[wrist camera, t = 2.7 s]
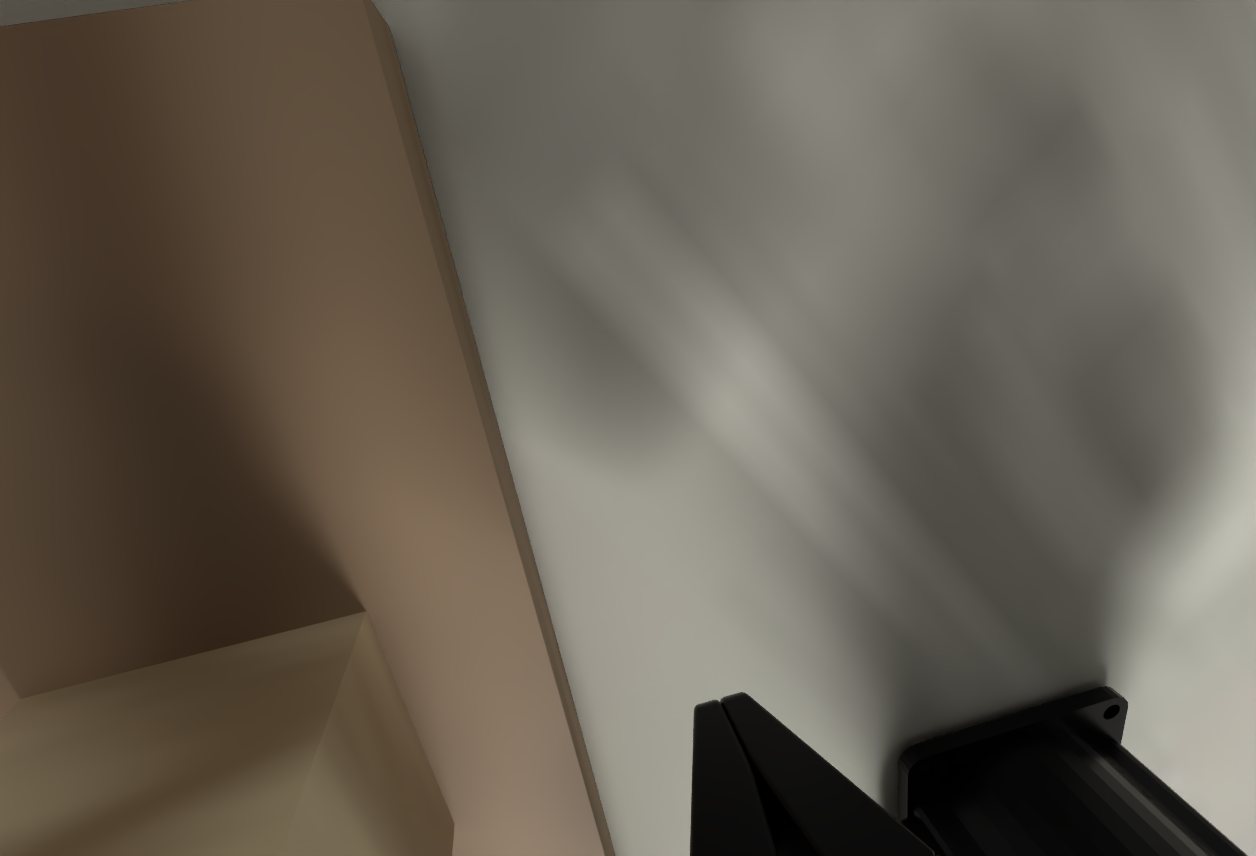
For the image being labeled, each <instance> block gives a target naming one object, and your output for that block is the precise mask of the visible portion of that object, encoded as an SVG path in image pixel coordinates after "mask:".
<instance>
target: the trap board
mask: <svg viewBox="0 0 1256 856" xmlns="http://www.w3.org/2000/svg"><path fill="white" fill-rule="evenodd" d="M365 611H366V612H367V614H368V616H369V619H370V621H371V624H372V626H373V629H374V631H375V633H376V636H377V638H378V641H379V643H380V645H381V648H382V650H383V653H384V655H385V657H386V660H387V662H388V665H389V667H390V669H391V672H392V674H393V677H394V679H395V682H396V684H397V686H398V689H399V691H400V694H401V696H402V698H403V701H404V703H405V706H406V708H407V710H408V713H409V715H410V718H411V720H412V722H413V725H414V727H415V730H416V732H417V735H418V737H419V739H420V742H421V744H422V747H423V749H424V751H425V754H426V756H427V759H428V761H429V763H430V766H431V768H432V771H433V773H434V775H435V778H436V780H437V783H438V785H439V788H440V790H441V792H442V795H443V797H444V800H445V802H446V804H447V807H448V809H449V812H450V814H451V816H452V819H453V821H454V824H455V827H454V838H453V850H452V856H615V853H614V849H613V845H612V842H611V838H610V834H609V831H608V827H607V823H606V820H605V816H604V812H603V809H602V805H601V801H600V798H599V794H598V790H597V787H596V783H595V779H594V776H593V772H592V768H591V765H590V761H589V757H588V754H587V750H586V746H585V743H584V739H583V735H582V732H581V728H580V724H579V721H578V717H577V713H576V710H575V706H574V702H573V699H572V695H571V691H570V688H569V684H568V680H567V677H566V673H565V669H564V666H563V662H562V658H561V655H560V651H559V647H558V644H557V640H556V636H555V633H554V629H553V625H552V622H551V618H550V614H549V611H548V607H547V603H546V600H545V596H544V592H543V589H542V585H541V581H540V578H539V574H538V570H537V567H536V563H535V559H534V556H533V552H532V548H531V545H530V541H529V537H528V534H527V530H526V526H525V523H524V519H523V515H522V512H521V508H520V504H519V501H518V497H517V493H516V490H515V486H514V482H513V479H512V475H511V471H510V468H509V464H508V460H507V457H506V453H505V449H504V446H503V442H502V438H501V435H500V431H499V427H498V424H497V420H496V416H495V413H494V409H493V405H492V402H491V398H490V394H489V391H488V387H487V383H486V380H485V376H484V372H483V369H482V365H481V361H480V358H479V354H478V350H477V347H476V343H475V339H474V336H473V332H472V328H471V325H470V321H469V317H468V314H467V310H466V306H465V303H464V299H463V295H462V292H461V288H460V284H459V281H458V277H457V273H456V270H455V266H454V262H453V259H452V255H451V251H450V248H449V244H448V240H447V237H446V233H445V229H444V226H443V222H442V218H441V215H440V211H439V207H438V204H437V200H436V196H435V193H434V189H433V185H432V182H431V178H430V174H429V171H428V167H427V163H426V160H425V156H424V152H423V149H422V145H421V141H420V138H419V134H418V130H417V127H416V123H415V119H414V116H413V112H412V109H411V105H410V101H409V98H408V94H407V90H406V87H405V83H404V79H403V76H402V72H401V68H400V65H399V61H398V57H397V54H396V50H395V46H394V43H393V39H392V35H391V32H390V28H389V26H388V25H387V23H386V22H385V20H384V19H383V17H382V16H381V14H380V13H379V11H378V10H377V8H376V7H375V5H374V4H373V2H372V1H371V0H191V1H183V2H176V3H169V4H161V5H154V6H147V7H140V8H132V9H125V10H118V11H110V12H103V13H96V14H88V15H81V16H74V17H66V18H59V19H52V20H45V21H37V22H30V23H23V24H15V25H8V26H1V27H0V719H1V718H2V717H3V716H4V715H5V714H6V713H7V712H8V711H9V710H10V709H11V708H12V707H13V706H14V705H15V704H16V703H17V702H18V701H19V700H20V699H22V698H26V697H30V696H34V695H38V694H42V693H46V692H50V691H54V690H58V689H62V688H66V687H70V686H73V685H77V684H81V683H85V682H89V681H93V680H97V679H101V678H105V677H109V676H113V675H117V674H121V673H125V672H129V671H133V670H136V669H140V668H144V667H148V666H152V665H156V664H160V663H164V662H168V661H172V660H176V659H180V658H184V657H188V656H192V655H196V654H199V653H203V652H207V651H211V650H215V649H219V648H223V647H227V646H231V645H235V644H239V643H243V642H247V641H251V640H255V639H259V638H262V637H266V636H270V635H274V634H278V633H282V632H286V631H290V630H294V629H298V628H302V627H306V626H310V625H314V624H318V623H322V622H325V621H329V620H333V619H337V618H341V617H345V616H349V615H353V614H357V613H361V612H365Z"/></svg>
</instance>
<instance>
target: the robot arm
mask: <svg viewBox="0 0 1256 856" xmlns="http://www.w3.org/2000/svg"><path fill="white" fill-rule="evenodd" d="M1127 709H1128V702H1127V701H1126V699H1125V698H1123V697H1122V696H1121V695H1120V694H1118V693H1117V692H1116V691H1115V690H1113V689H1112V688H1111V687H1107V686H1105V687H1099V688H1096V689H1093V690H1089V691H1086V692H1083V693H1080V694H1077V695H1073V696H1070V697H1067V698H1064V699H1060V700H1057V701H1054V702H1051V703H1048V704H1044V705H1041V706H1038V707H1035V708H1031V709H1028V710H1025V711H1022V712H1018V713H1015V714H1012V715H1009V716H1006V717H1002V718H999V719H996V720H993V721H989V722H986V723H983V724H980V725H977V726H973V727H970V728H967V729H964V730H960V731H957V732H954V733H951V734H947V735H944V736H941V737H938V738H935V739H931V740H928V741H925V742H922V743H918V744H915V745H913V746H911V747H909V748H908V749H907V750H905V751H904V752H903V753H902V755H901V756H900V758H899V762H898V821H897V820H896V819H895V818H894V817H893V816H892V815H890V814H889V813H888V812H887V811H886V810H884V809H883V808H882V807H881V806H880V805H878V804H877V803H876V802H875V801H874V800H873V799H871V798H870V797H869V796H868V795H867V794H865V793H864V792H863V791H862V790H861V789H859V788H858V787H857V786H856V785H855V784H854V783H852V782H851V781H850V780H849V779H848V778H846V777H845V776H844V775H843V774H842V773H840V772H839V771H838V770H837V769H836V768H835V767H833V766H832V765H831V764H830V763H829V762H827V761H826V760H825V759H824V758H823V757H821V756H820V755H819V754H818V753H817V752H816V751H814V750H813V749H812V748H811V747H810V746H808V745H807V744H806V743H805V742H804V741H802V740H801V739H800V738H799V737H798V736H797V735H795V734H794V733H793V732H792V731H791V730H789V729H788V728H787V727H786V726H785V725H783V724H782V723H781V722H780V721H779V720H778V719H776V718H775V717H774V716H773V715H772V714H770V713H769V712H768V711H767V710H766V709H764V708H763V707H762V706H761V705H760V704H759V703H757V702H756V701H755V700H754V699H753V698H751V697H750V696H749V695H748V694H746V693H743V692H740V693H736V694H733V695H729V696H726V697H723V698H722V699H721V700H720V702H719V701H718V700H712V701H709V702H705V703H702V704H698V705H696V706H695V708H694V728H693V764H692V800H691V837H690V856H1248V855H1246V854H1245V853H1244V852H1243V851H1242V850H1241V849H1240V848H1238V847H1237V846H1236V845H1235V844H1234V843H1233V842H1232V841H1230V840H1229V839H1228V838H1227V837H1226V836H1225V835H1224V834H1222V833H1221V832H1220V831H1219V830H1218V829H1217V828H1216V827H1214V826H1213V825H1212V824H1211V823H1210V822H1209V821H1208V820H1206V819H1205V818H1204V817H1203V816H1202V815H1201V814H1200V813H1198V812H1197V811H1196V810H1195V809H1194V808H1193V807H1192V806H1190V805H1189V804H1188V803H1187V802H1186V801H1185V800H1184V799H1182V798H1181V797H1180V796H1179V795H1178V794H1177V793H1176V792H1174V791H1173V790H1172V789H1171V788H1170V787H1169V786H1168V785H1167V784H1165V783H1164V782H1163V781H1162V780H1161V779H1160V778H1159V777H1157V776H1156V775H1155V774H1154V773H1153V772H1152V771H1151V770H1149V769H1148V768H1147V767H1146V766H1145V765H1144V764H1143V763H1141V762H1140V761H1139V760H1138V759H1137V758H1136V757H1135V756H1133V755H1132V754H1131V753H1130V752H1129V751H1128V750H1127V749H1125V748H1124V747H1123V746H1122V745H1121V740H1122V735H1123V730H1124V724H1125V719H1126V714H1127Z"/></svg>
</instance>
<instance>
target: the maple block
mask: <svg viewBox="0 0 1256 856" xmlns="http://www.w3.org/2000/svg"><path fill="white" fill-rule="evenodd" d="M454 827H455V824H454V821H453V819H452V816H451V814H450V812H449V809H448V807H447V804H446V802H445V800H444V797H443V795H442V792H441V790H440V788H439V785H438V783H437V780H436V778H435V775H434V773H433V771H432V768H431V766H430V763H429V761H428V759H427V756H426V754H425V751H424V749H423V747H422V744H421V742H420V739H419V737H418V735H417V732H416V730H415V727H414V725H413V722H412V720H411V718H410V715H409V713H408V710H407V708H406V706H405V703H404V701H403V698H402V696H401V694H400V691H399V689H398V686H397V684H396V682H395V679H394V677H393V674H392V672H391V669H390V667H389V665H388V662H387V660H386V657H385V655H384V653H383V650H382V648H381V645H380V643H379V641H378V638H377V636H376V633H375V631H374V629H373V626H372V624H371V621H370V619H369V616H368V614H367V612H366V611H365V612H361V613H357V614H353V615H349V616H345V617H341V618H337V619H333V620H329V621H325V622H322V623H318V624H314V625H310V626H306V627H302V628H298V629H294V630H290V631H286V632H282V633H278V634H274V635H270V636H266V637H262V638H259V639H255V640H251V641H247V642H243V643H239V644H235V645H231V646H227V647H223V648H219V649H215V650H211V651H207V652H203V653H199V654H196V655H192V656H188V657H184V658H180V659H176V660H172V661H168V662H164V663H160V664H156V665H152V666H148V667H144V668H140V669H136V670H133V671H129V672H125V673H121V674H117V675H113V676H109V677H105V678H101V679H97V680H93V681H89V682H85V683H81V684H77V685H73V686H70V687H66V688H62V689H58V690H54V691H50V692H46V693H42V694H38V695H34V696H30V697H26V698H22V699H20V700H19V701H18V702H17V703H16V704H15V705H14V706H13V707H12V708H11V709H10V710H9V711H8V712H7V713H6V714H5V715H4V716H3V717H2V718H1V719H0V856H452V850H453V838H454Z"/></svg>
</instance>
